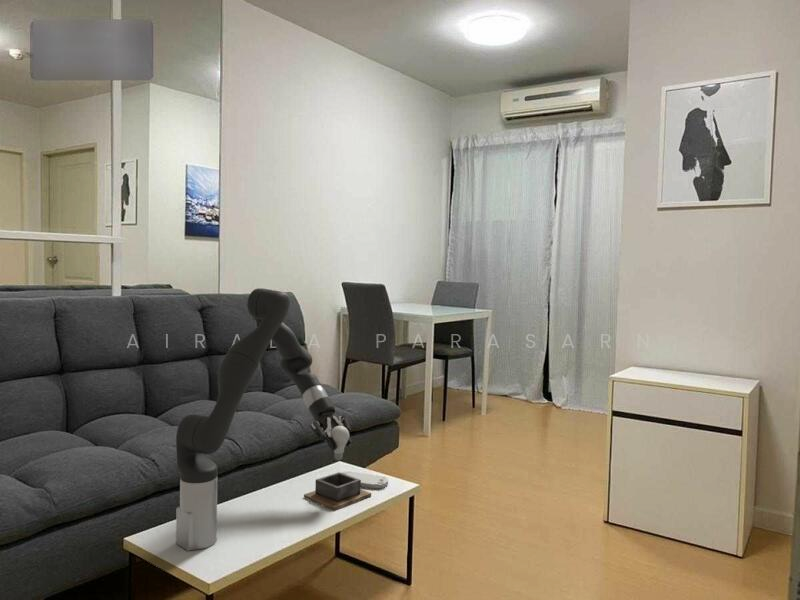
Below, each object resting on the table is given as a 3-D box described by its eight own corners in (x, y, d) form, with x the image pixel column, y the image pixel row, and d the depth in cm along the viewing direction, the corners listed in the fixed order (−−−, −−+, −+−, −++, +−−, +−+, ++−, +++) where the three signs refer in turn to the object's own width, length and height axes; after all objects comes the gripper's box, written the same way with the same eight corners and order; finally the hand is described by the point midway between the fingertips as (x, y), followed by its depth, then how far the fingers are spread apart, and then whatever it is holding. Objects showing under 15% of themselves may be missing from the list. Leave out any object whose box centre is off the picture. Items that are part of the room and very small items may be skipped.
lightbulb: (324, 461, 191) (326, 426, 190) (335, 456, 196) (337, 422, 195) (341, 464, 188) (342, 429, 187) (351, 459, 193) (353, 425, 193)
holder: (334, 510, 182) (334, 492, 182) (303, 497, 191) (304, 480, 191) (371, 496, 194) (371, 479, 194) (340, 484, 203) (341, 468, 203)
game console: (391, 476, 207) (382, 484, 199) (390, 483, 207) (382, 491, 199) (342, 469, 213) (332, 476, 205) (342, 475, 213) (332, 483, 205)
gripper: (306, 399, 190) (331, 445, 183) (340, 392, 201) (365, 436, 194) (295, 412, 194) (319, 458, 187) (329, 405, 205) (353, 448, 198)
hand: (342, 447), depth 190 cm, fingers closed on lightbulb, 5 cm apart
